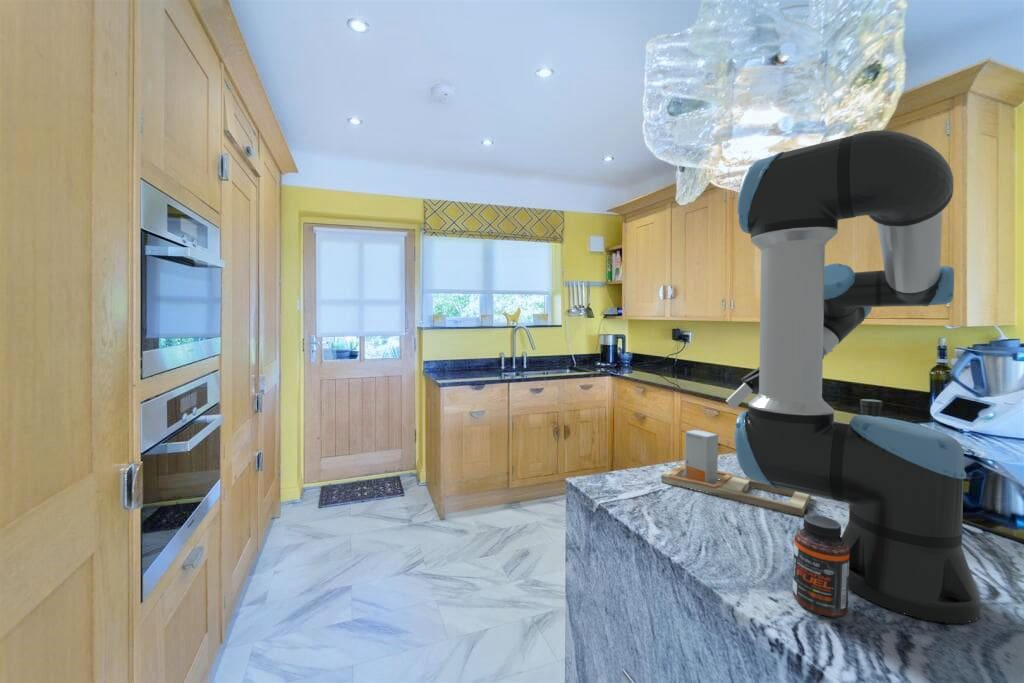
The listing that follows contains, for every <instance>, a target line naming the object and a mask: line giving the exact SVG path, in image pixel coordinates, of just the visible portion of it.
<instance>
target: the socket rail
mask: <svg viewBox="0 0 1024 683" xmlns="http://www.w3.org/2000/svg"><path fill="white" fill-rule="evenodd" d="M684 475H685V464H682V463H679V464H678V465H676V466H674V467H673V468H670V470H668V471H666V472H664V473H663V474H662V475H661V476H660V480H661V481H660V482H661V483H664V484H668V485H671V486H676V485H677V486H676V487H680V486H683V487H682V488H684V487H687V488H686V489H688V488H692V489H696V490H701V491H704V492H708V493H711V494H710V495H712V494H714V495H713V496H716V495H718V496H717V497H720V496H722V498H724V497H725V499H728V498H729V500H732V499H733V500H732V501H736V500H737V502H740V501H741V503H744V502H746V503H745V504H748V503H750V504H749V505H753V504H754V505H753V506H757V505H759V506H758V507H761V506H763V507H762V508H765V507H767V508H766V509H769V508H771V509H770V510H773V509H775V510H774V511H777V510H780V511H779V512H781V511H783V512H782V513H785V512H787V513H786V514H789V513H791V514H790V515H793V514H795V515H794V516H797V515H799V516H798V517H801V516H802V517H803V515H804V513H805V511H806V509H807V507H808V505H809V503H810V501H811V498H812V495H809V494H804V493H800V492H796V491H791V490H787V489H782V488H779V489H778V488H774V487H772V486H770V485H767V484H763V483H760V482H756V481H753V480H751V479H750V478H748V477H744V476H740V475H735V474H732V473H730V472H726V471H720V470H717V479H720V480H717V483H716V484H710V483H705V482H701V481H697V480H692V479H688V478H685V476H684ZM751 487H754V488H753V489H756V488H758V489H757V490H760V489H763V490H762V491H765V490H766V492H769V491H771V492H770V493H774V492H775V493H774V494H778V493H780V494H779V495H783V494H784V496H787V495H788V496H787V497H791V498H789V499H790V500H789V502H784V501H781V500H776V499H772V498H768V497H763V496H759V495H755V494H751V493H746V491H748V489H749V488H751ZM692 489H691V490H692ZM696 490H695V491H696ZM704 492H703V493H704ZM708 493H707V494H708Z"/></svg>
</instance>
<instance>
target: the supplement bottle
mask: <svg viewBox="0 0 1024 683" xmlns="http://www.w3.org/2000/svg"><path fill="white" fill-rule="evenodd" d="M802 525H803V528H801V529H799V530H797V531H796V532H795V534H794V541H793V542H794V543H793V566H792V567H793V569H792V572H793V574H792V595H793V597H794V600H796V601H797V602H798V604H800V605H801V606H802V607H804V608H805V609H807V610H808V611H811V612H813V613H815V614H818V615H821V616H826V617H830V618H838V617H843V616H844V615H846V614H847V612H848V605H849V599H848V598H849V588H848V581H849V554H850V551H849V546H848V544H847V543H846V542H845V541H844V540H843V539H842V538H841V537H842V524H841V523H839V521H837V520H835V519H833V518H830V517H828V516H825V515H821V514H820V515H818V514H806V515H804V517H803V524H802Z"/></svg>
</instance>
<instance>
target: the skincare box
mask: <svg viewBox="0 0 1024 683" xmlns="http://www.w3.org/2000/svg"><path fill="white" fill-rule="evenodd" d="M684 445H685V449H684V450H685V452H684V453H685V454H684V455H685V456H684V465H685V476H684V478H688V479H692V480H697V481H701V482H705V483H710V484H716V483H717V482H718V480H717V471H718V459H719V458H718V456H719V455H718V453H719V452H718V451H719V448H718V447H719V435H718V434H717V433H712V432H709V431H705V430H704V431H703V430H699V429H693V430H687V431H685V444H684Z"/></svg>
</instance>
